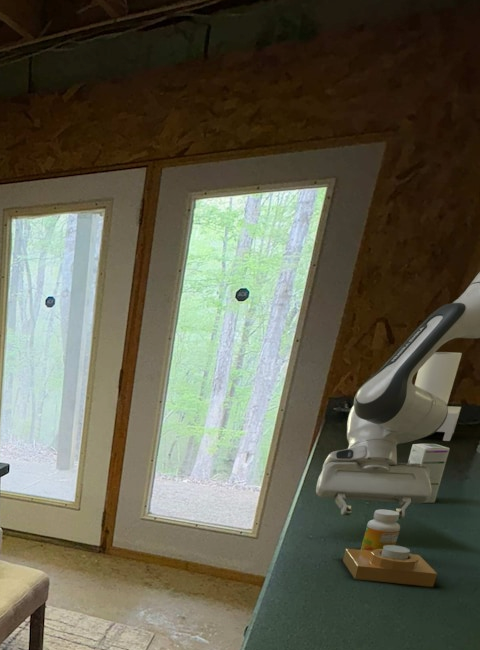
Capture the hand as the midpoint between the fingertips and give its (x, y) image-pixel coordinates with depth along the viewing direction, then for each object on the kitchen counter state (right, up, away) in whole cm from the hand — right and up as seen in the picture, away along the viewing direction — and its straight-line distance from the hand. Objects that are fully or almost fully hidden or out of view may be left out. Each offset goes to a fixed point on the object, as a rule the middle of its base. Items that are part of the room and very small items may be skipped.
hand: (372, 516), depth 135 cm
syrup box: (+35, +6, +30) cm, 47 cm away
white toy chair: (+102, +39, +105) cm, 152 cm away
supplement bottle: (-3, -9, -5) cm, 11 cm away
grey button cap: (-9, -9, -17) cm, 22 cm away
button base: (-8, -13, -14) cm, 20 cm away
